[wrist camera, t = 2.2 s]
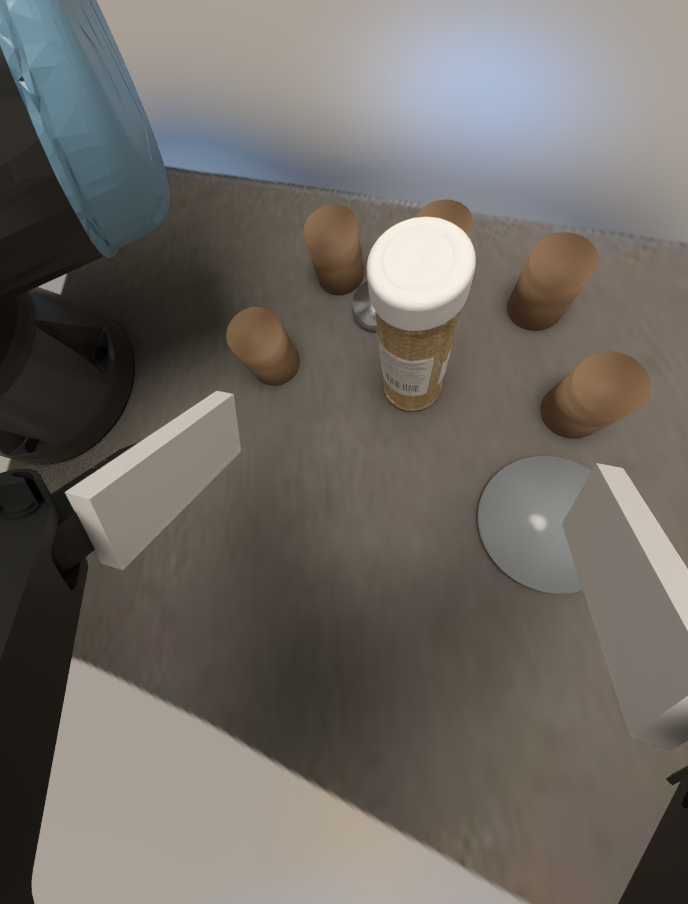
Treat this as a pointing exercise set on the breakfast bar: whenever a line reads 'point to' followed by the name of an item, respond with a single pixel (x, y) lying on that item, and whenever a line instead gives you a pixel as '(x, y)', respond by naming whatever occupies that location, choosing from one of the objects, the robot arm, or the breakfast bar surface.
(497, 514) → the coaster
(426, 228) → the sprinkles bottle
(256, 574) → the breakfast bar surface
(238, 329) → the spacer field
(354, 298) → the silver rounded piece
